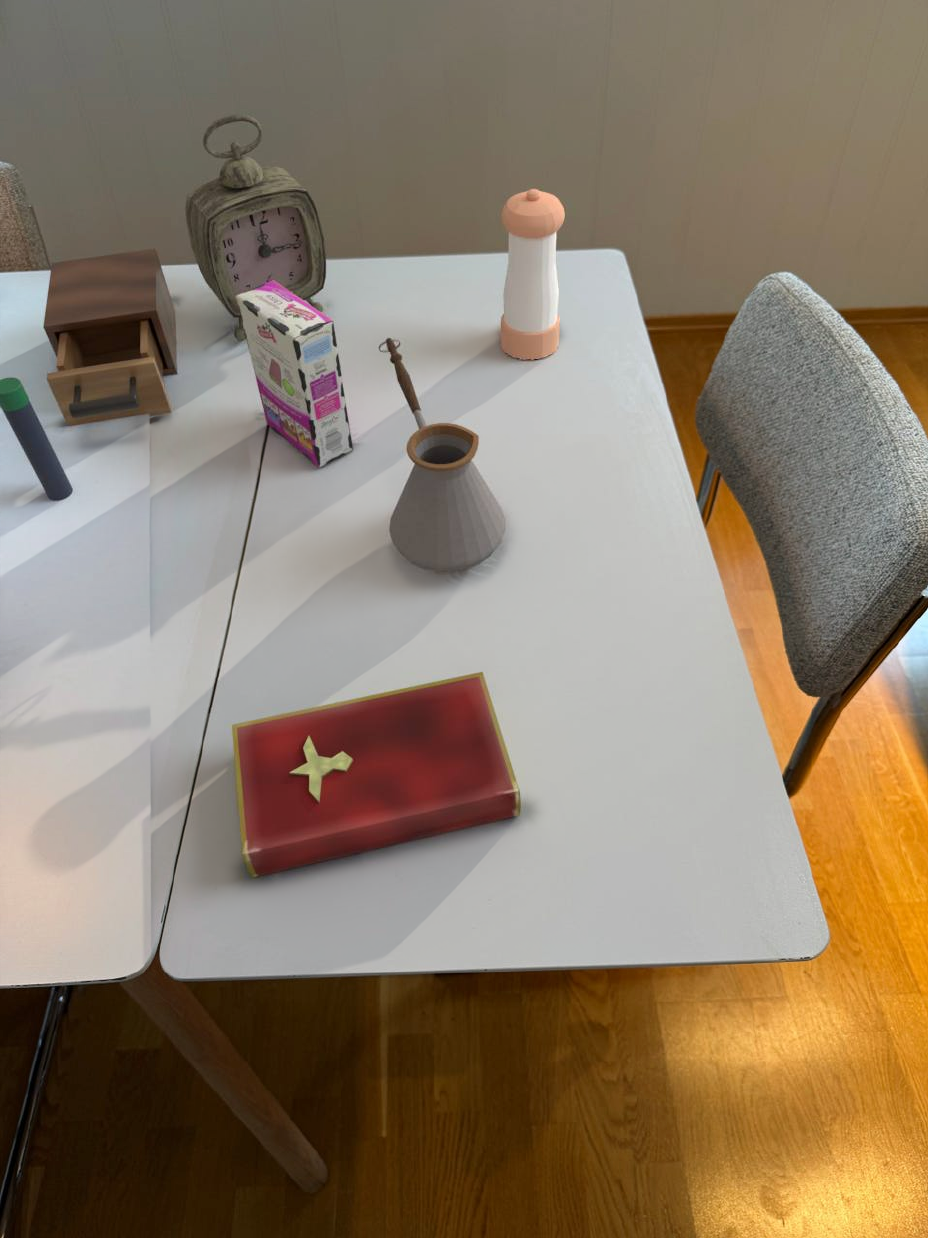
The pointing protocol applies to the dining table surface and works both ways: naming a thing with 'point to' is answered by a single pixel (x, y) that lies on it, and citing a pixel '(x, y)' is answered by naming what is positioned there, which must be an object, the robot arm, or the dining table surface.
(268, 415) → the candy bar box
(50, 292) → the cabinet
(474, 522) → the coffee pot
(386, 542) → the dining table surface
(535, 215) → the pepper shaker
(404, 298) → the dining table surface
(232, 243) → the tabletop clock
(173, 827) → the dining table surface
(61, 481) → the marker
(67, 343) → the drawer
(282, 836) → the hardcover book
